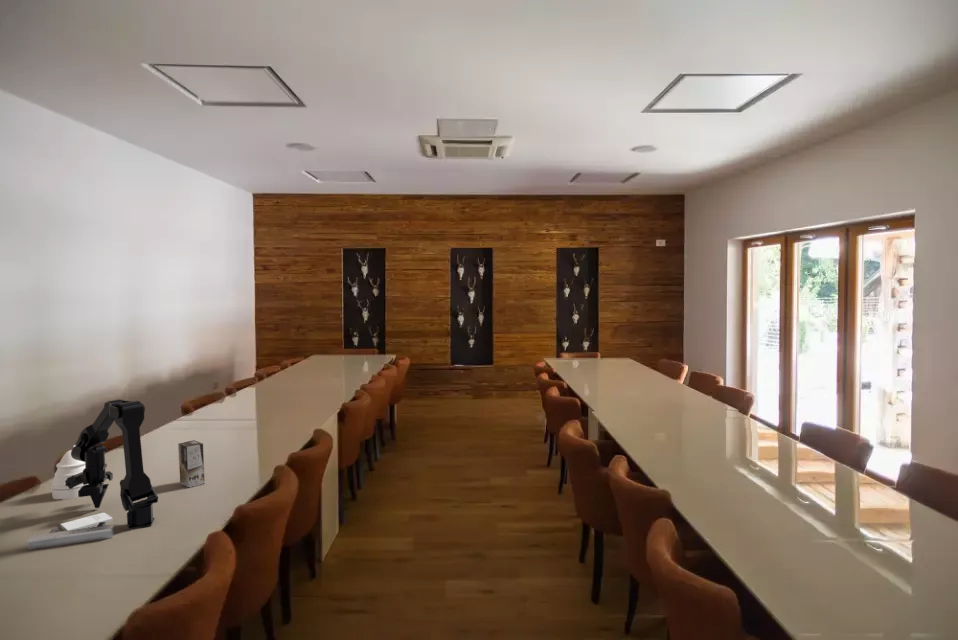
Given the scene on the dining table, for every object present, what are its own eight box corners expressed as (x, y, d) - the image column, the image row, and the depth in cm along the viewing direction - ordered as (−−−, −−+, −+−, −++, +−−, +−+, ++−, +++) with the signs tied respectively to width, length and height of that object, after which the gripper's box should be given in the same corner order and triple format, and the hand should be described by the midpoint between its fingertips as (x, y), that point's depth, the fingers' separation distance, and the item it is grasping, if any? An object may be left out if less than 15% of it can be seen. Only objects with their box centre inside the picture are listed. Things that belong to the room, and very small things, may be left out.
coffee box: (205, 483, 222) (203, 443, 222) (188, 488, 218) (186, 446, 217) (196, 478, 229) (194, 439, 228) (179, 483, 224) (177, 442, 223)
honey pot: (90, 485, 223) (88, 440, 222) (97, 493, 214) (95, 446, 213) (49, 493, 214) (47, 446, 213) (55, 502, 205) (52, 453, 204)
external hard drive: (60, 528, 183) (104, 516, 192) (67, 535, 178) (112, 522, 187) (59, 523, 183) (103, 511, 192) (67, 530, 178) (112, 517, 187)
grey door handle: (118, 527, 182) (117, 518, 181) (111, 538, 173) (111, 528, 173) (39, 538, 174) (38, 528, 174) (28, 550, 166) (27, 540, 166)
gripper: (75, 459, 202) (78, 502, 203) (58, 474, 185) (61, 521, 186) (112, 455, 206) (114, 497, 207) (98, 470, 189) (100, 516, 190)
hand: (97, 507), depth 197 cm, fingers closed
